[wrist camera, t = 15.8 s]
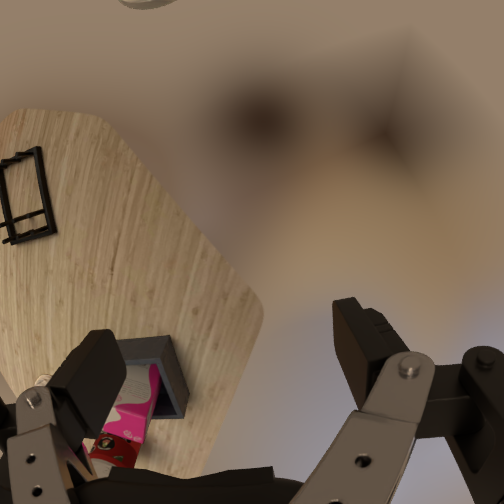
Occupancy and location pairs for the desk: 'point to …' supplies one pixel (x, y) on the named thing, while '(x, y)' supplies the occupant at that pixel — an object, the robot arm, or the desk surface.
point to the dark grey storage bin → (173, 382)
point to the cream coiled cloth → (42, 380)
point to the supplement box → (135, 403)
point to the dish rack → (50, 228)
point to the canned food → (113, 453)
